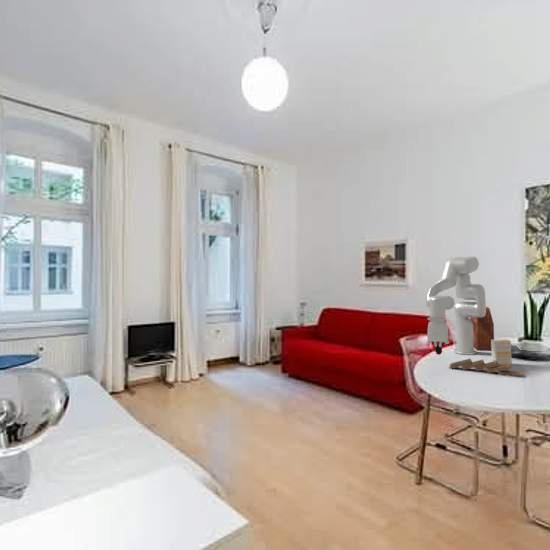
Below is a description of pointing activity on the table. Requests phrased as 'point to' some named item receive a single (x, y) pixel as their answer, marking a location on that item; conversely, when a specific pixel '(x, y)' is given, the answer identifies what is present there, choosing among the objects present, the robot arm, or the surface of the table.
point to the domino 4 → (499, 368)
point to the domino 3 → (487, 365)
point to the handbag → (483, 331)
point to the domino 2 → (473, 364)
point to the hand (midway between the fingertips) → (438, 354)
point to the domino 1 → (460, 363)
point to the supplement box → (501, 351)
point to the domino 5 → (511, 373)
